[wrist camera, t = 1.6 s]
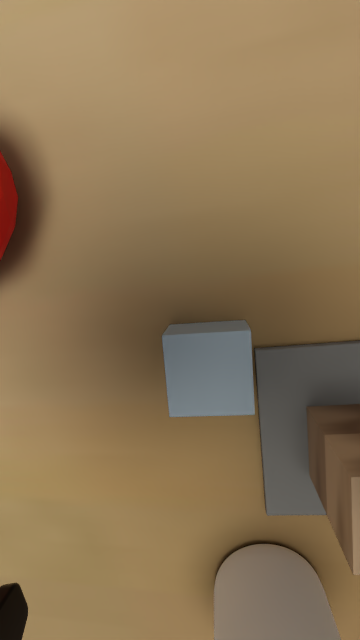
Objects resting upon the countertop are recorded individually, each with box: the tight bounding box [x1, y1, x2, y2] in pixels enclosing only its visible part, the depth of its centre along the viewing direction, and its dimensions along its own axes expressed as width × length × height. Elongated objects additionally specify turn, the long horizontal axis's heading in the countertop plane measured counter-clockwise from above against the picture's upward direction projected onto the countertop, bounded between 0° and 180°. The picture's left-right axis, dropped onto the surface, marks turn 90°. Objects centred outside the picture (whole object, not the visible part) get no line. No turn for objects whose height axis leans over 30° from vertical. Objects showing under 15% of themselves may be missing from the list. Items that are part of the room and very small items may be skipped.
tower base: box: [306, 404, 360, 514], centre depth 19 cm, size 5×5×4 cm
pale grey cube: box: [162, 320, 255, 417], centre depth 20 cm, size 5×5×4 cm
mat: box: [254, 341, 360, 515], centre depth 21 cm, size 11×12×1 cm
